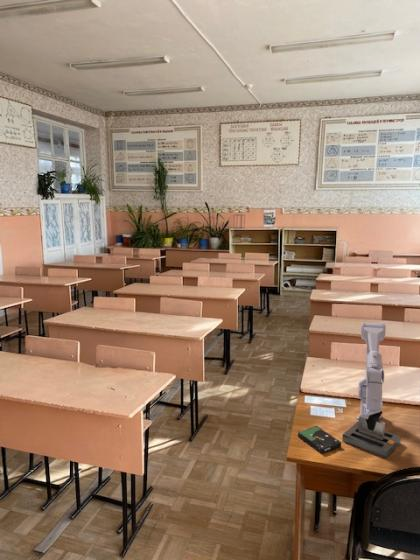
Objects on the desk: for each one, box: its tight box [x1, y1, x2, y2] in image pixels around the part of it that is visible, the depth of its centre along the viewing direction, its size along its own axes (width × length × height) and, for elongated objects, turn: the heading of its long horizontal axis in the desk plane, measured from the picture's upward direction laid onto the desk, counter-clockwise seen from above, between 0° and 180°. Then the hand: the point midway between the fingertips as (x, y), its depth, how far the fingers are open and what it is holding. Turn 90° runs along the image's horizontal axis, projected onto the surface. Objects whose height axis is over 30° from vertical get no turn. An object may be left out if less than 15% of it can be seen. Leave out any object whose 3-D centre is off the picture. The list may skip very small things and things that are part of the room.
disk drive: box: [297, 425, 342, 455], centre depth 174 cm, size 10×3×15 cm
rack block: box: [341, 421, 402, 459], centre depth 173 cm, size 14×18×3 cm
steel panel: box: [358, 414, 386, 440], centre depth 172 cm, size 2×10×7 cm, turn 46°
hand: (371, 428), depth 172 cm, fingers closed on steel panel, 2 cm apart
